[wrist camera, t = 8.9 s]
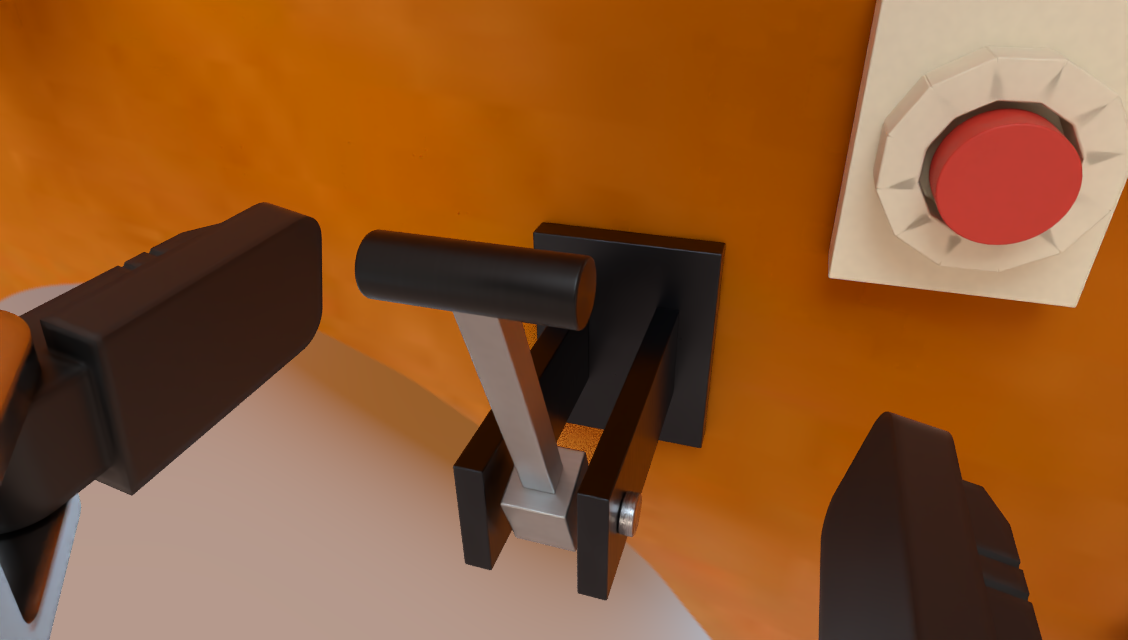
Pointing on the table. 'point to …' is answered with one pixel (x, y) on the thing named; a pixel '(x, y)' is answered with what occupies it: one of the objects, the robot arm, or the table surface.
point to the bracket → (609, 389)
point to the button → (1004, 177)
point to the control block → (958, 92)
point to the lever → (499, 350)
